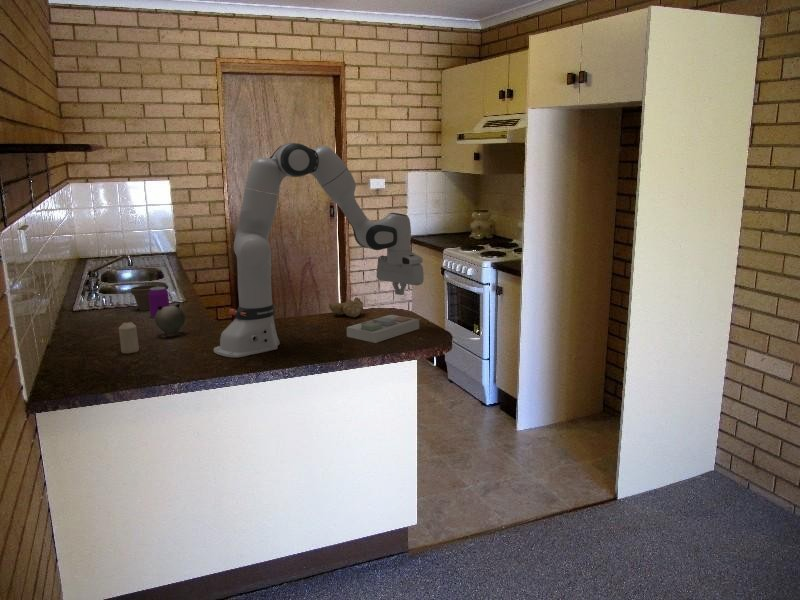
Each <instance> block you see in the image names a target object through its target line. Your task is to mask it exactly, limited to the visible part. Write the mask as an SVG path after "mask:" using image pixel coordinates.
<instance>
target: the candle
mask: <svg viewBox="0 0 800 600" xmlns="http://www.w3.org/2000/svg"><path fill="white" fill-rule="evenodd" d="M137 330H138V329H137V325H136V324H134V323H133V322H132V321H129V322H123V323H122V324H121V325H120V326H119V327H118V334H119V335H118V336H119V343H120V350H121V351H120V352H121V353H122V354H135V353H137V352H139V351H140V347H139V339H138V331H137Z"/></svg>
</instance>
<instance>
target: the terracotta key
mask: <svg viewBox="0 0 800 600" xmlns="http://www.w3.org/2000/svg"><path fill="white" fill-rule="evenodd" d="M405 317H406V316H402V317H397V318H394V319H396V322H405V321H408V320H410V318H411V317H408V318H405Z"/></svg>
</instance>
